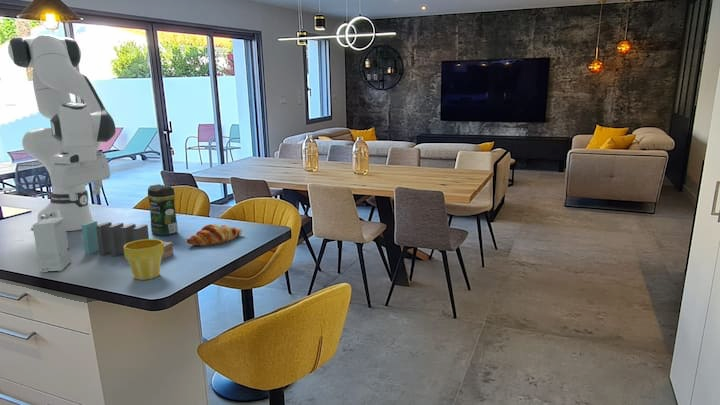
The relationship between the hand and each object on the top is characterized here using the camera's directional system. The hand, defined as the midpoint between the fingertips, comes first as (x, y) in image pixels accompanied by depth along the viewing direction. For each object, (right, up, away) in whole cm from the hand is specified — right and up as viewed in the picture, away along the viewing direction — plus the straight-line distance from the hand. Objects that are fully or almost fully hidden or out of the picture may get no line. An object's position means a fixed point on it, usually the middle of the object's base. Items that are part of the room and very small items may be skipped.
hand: (85, 197), depth 152 cm
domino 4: (+14, -19, +1) cm, 24 cm away
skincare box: (-3, -22, -10) cm, 24 cm away
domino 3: (+10, -19, +2) cm, 21 cm away
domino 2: (+5, -19, +3) cm, 20 cm away
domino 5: (+19, -19, 0) cm, 27 cm away
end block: (+25, -20, -1) cm, 32 cm away
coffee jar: (+15, -14, +26) cm, 33 cm away
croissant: (+38, -16, +16) cm, 44 cm away
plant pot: (+27, -23, -16) cm, 39 cm away
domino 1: (0, -18, +4) cm, 19 cm away
